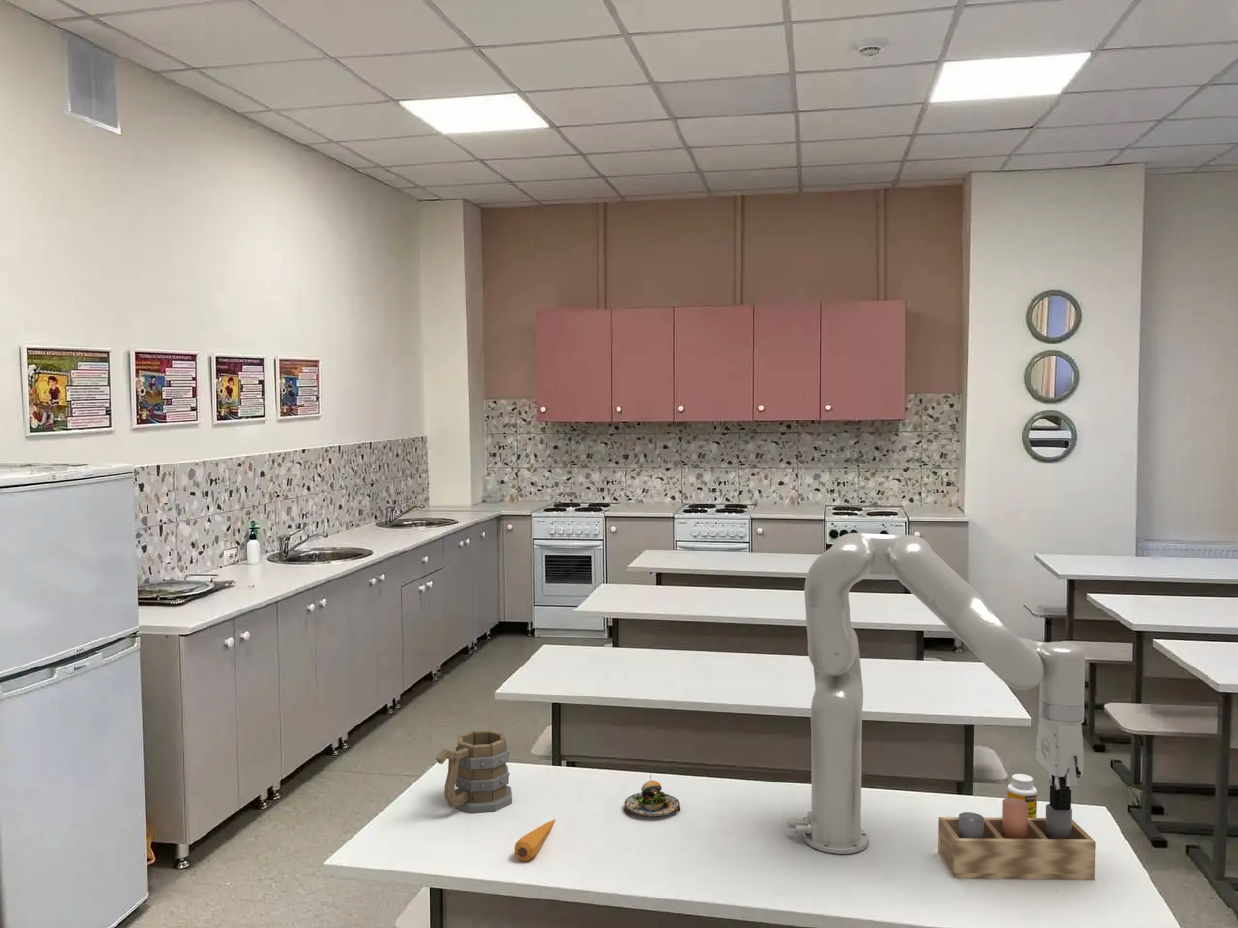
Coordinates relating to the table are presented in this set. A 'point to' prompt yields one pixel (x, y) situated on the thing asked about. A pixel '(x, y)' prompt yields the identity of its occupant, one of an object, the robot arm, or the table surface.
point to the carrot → (532, 842)
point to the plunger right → (1058, 823)
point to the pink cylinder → (1014, 819)
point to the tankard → (478, 772)
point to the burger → (651, 801)
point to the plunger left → (971, 825)
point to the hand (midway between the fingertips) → (1060, 807)
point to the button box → (1016, 853)
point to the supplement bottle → (1024, 792)
